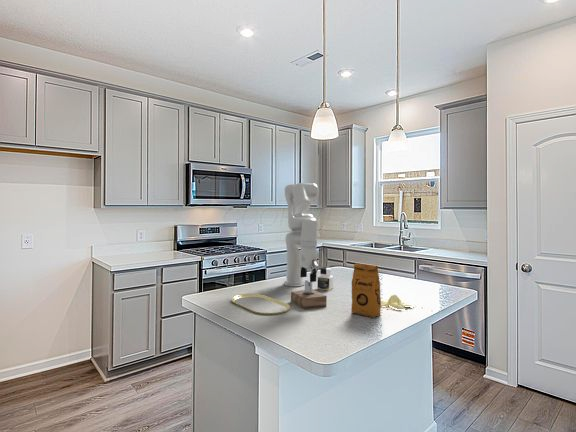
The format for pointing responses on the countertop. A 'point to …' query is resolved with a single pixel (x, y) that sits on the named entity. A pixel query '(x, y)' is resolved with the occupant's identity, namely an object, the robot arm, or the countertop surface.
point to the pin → (308, 287)
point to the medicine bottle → (325, 279)
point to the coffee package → (366, 290)
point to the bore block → (308, 299)
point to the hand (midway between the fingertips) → (308, 279)
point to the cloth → (394, 302)
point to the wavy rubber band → (264, 298)
